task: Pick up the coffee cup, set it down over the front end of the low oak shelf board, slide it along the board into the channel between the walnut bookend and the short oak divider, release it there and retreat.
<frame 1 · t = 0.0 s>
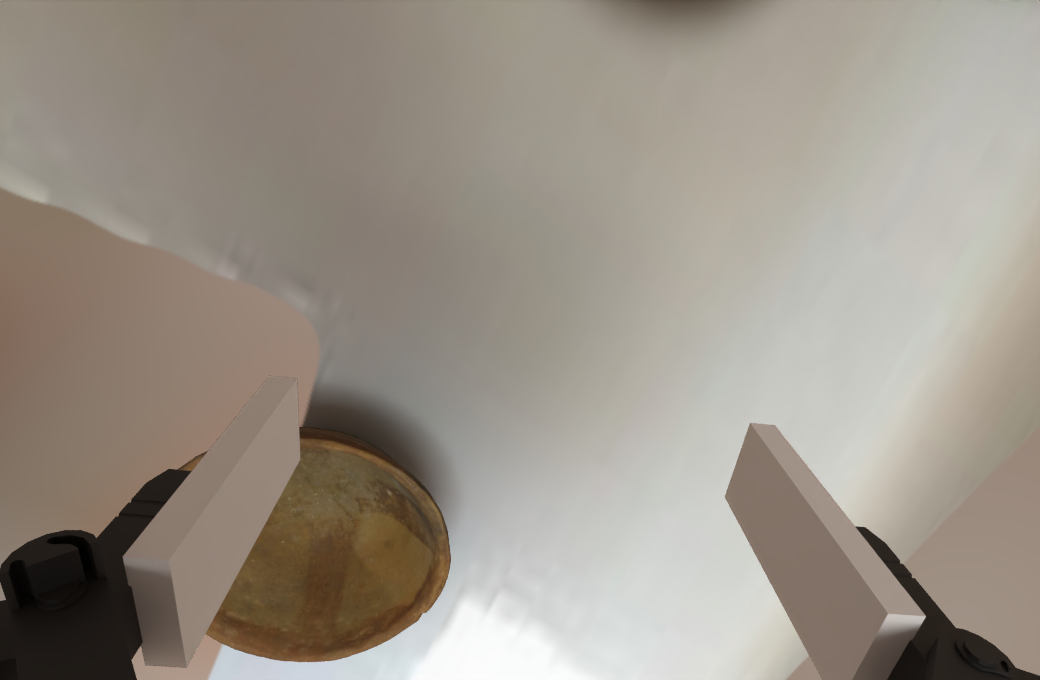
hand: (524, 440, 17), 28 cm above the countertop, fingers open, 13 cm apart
bowl: (332, 476, 51), on the countertop
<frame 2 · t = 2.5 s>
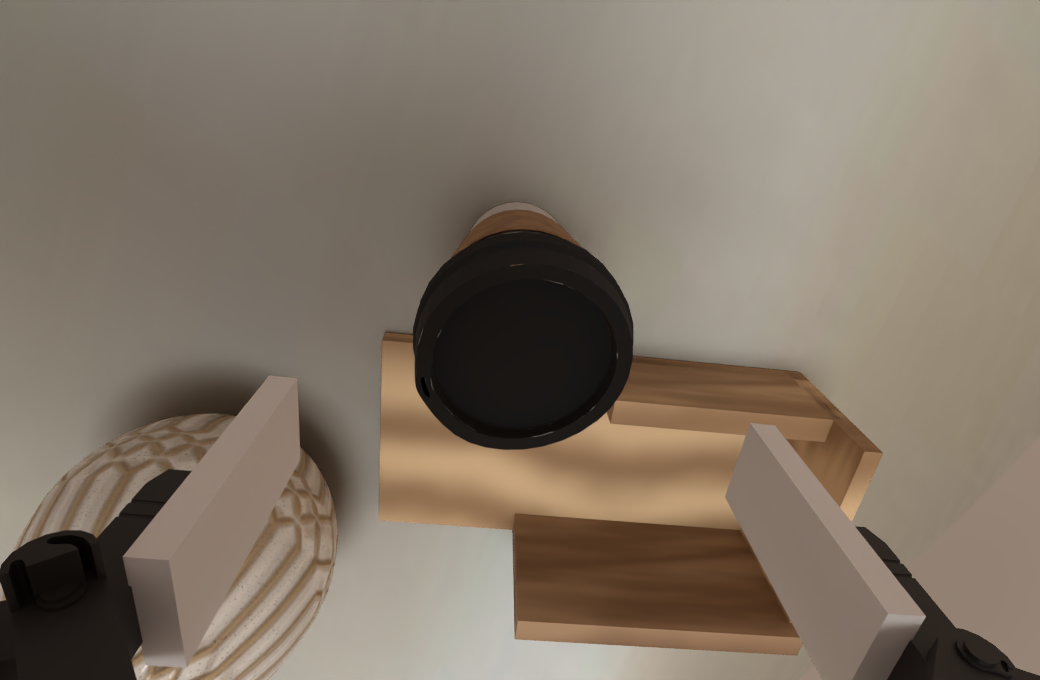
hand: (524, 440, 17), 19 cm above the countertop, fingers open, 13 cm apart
coffee cup: (516, 251, 34), on the countertop
vase: (246, 473, 40), on the countertop
shelf: (581, 443, 39), on the countertop
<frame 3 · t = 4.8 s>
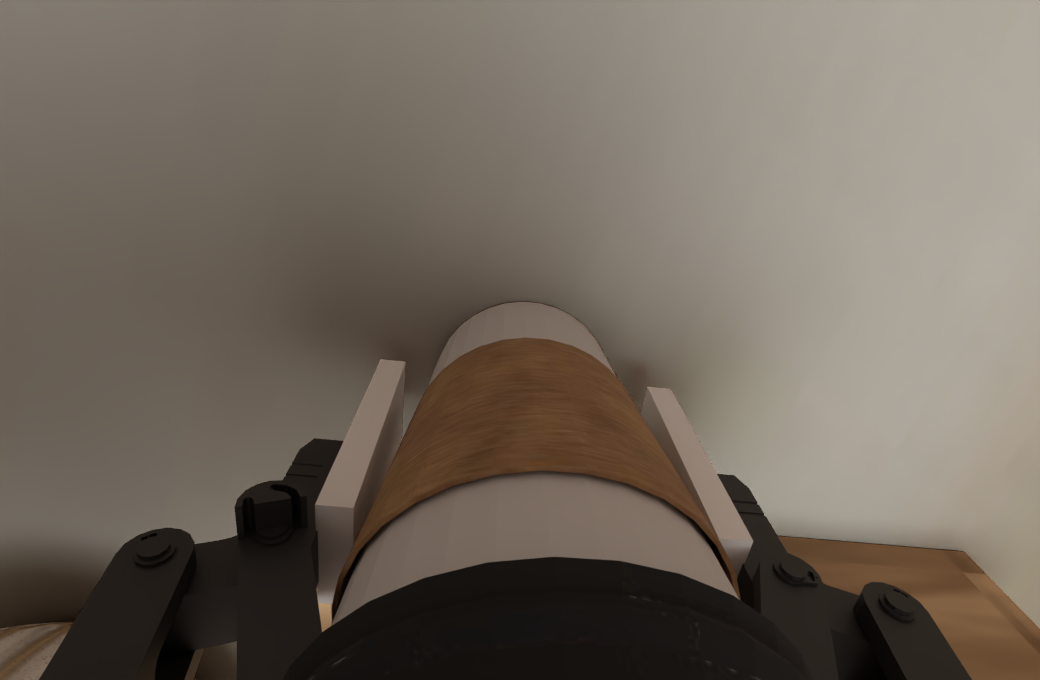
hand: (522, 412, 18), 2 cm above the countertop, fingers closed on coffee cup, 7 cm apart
coffee cup: (521, 376, 20), on the countertop, touching gripper
shelf: (616, 645, 26), on the countertop
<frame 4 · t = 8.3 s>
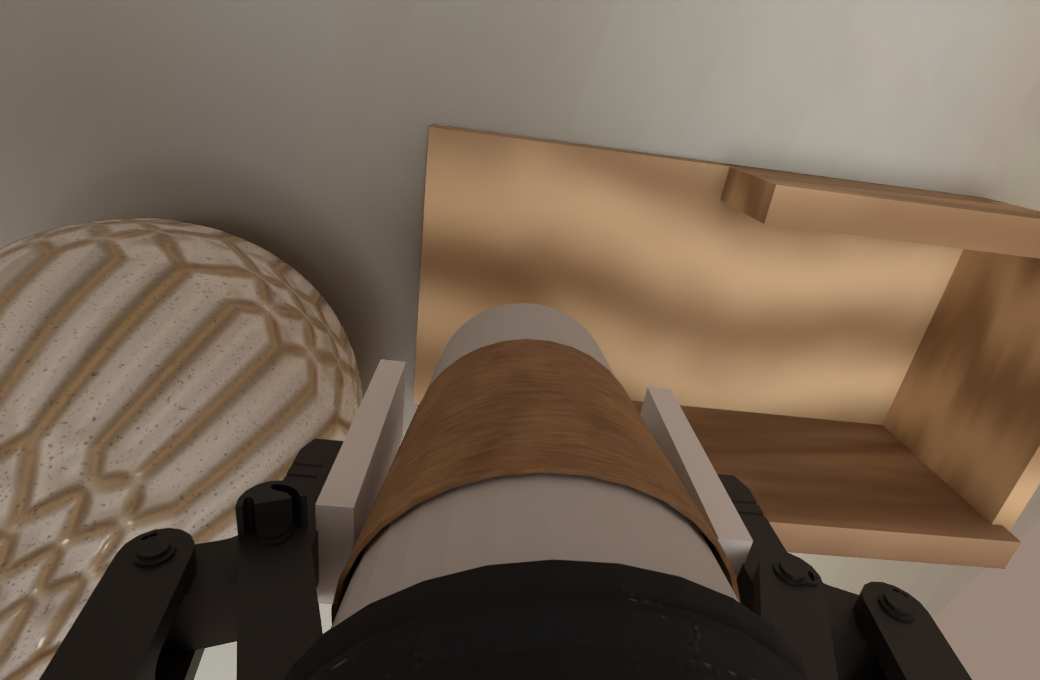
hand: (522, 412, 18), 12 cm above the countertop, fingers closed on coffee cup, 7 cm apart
coffee cup: (521, 377, 20), point 10 cm above the countertop, touching gripper
vase: (237, 340, 30), on the countertop
shelf: (683, 301, 30), on the countertop
when the fingers open (5 cm above the countertop, at t = 11.9 s): coffee cup drops 1 cm, resting on shelf.
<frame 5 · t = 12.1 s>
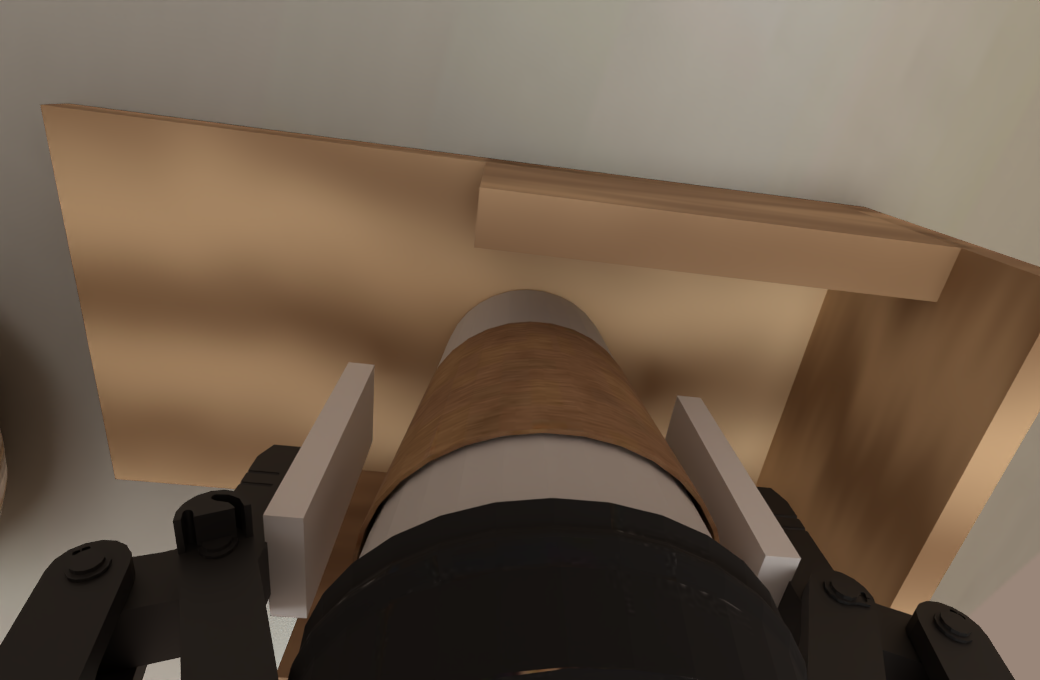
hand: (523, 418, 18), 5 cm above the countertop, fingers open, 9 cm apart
coffee cup: (525, 361, 21), point 1 cm above the countertop, touching shelf
shelf: (468, 344, 22), on the countertop
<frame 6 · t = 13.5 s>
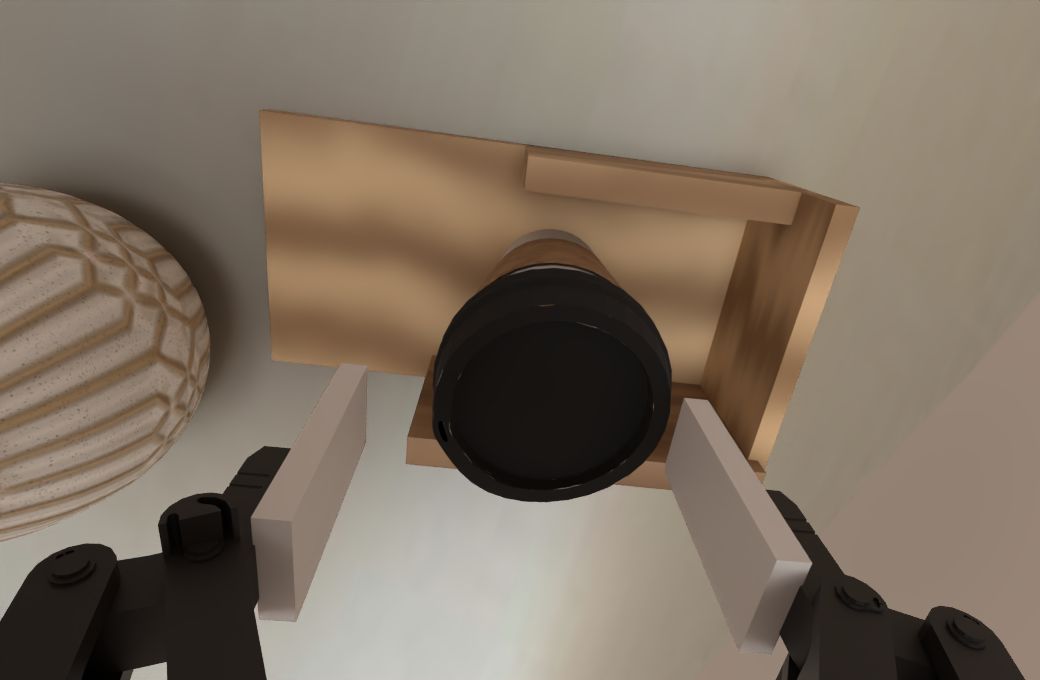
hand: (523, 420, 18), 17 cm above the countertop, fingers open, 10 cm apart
coffee cup: (549, 279, 32), point 1 cm above the countertop, touching shelf
vase: (117, 302, 34), on the countertop
shelf: (509, 269, 33), on the countertop
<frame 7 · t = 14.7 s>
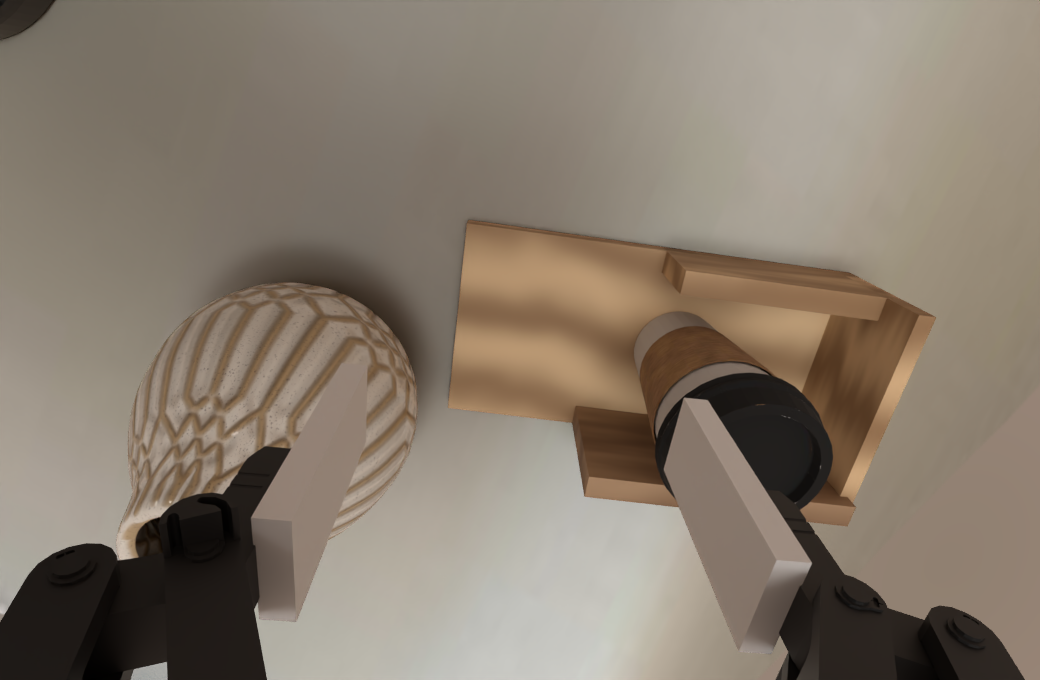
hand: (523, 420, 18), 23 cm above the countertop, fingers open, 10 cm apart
coffee cup: (673, 348, 41), point 1 cm above the countertop, touching shelf
vase: (326, 360, 43), on the countertop
shelf: (640, 339, 42), on the countertop
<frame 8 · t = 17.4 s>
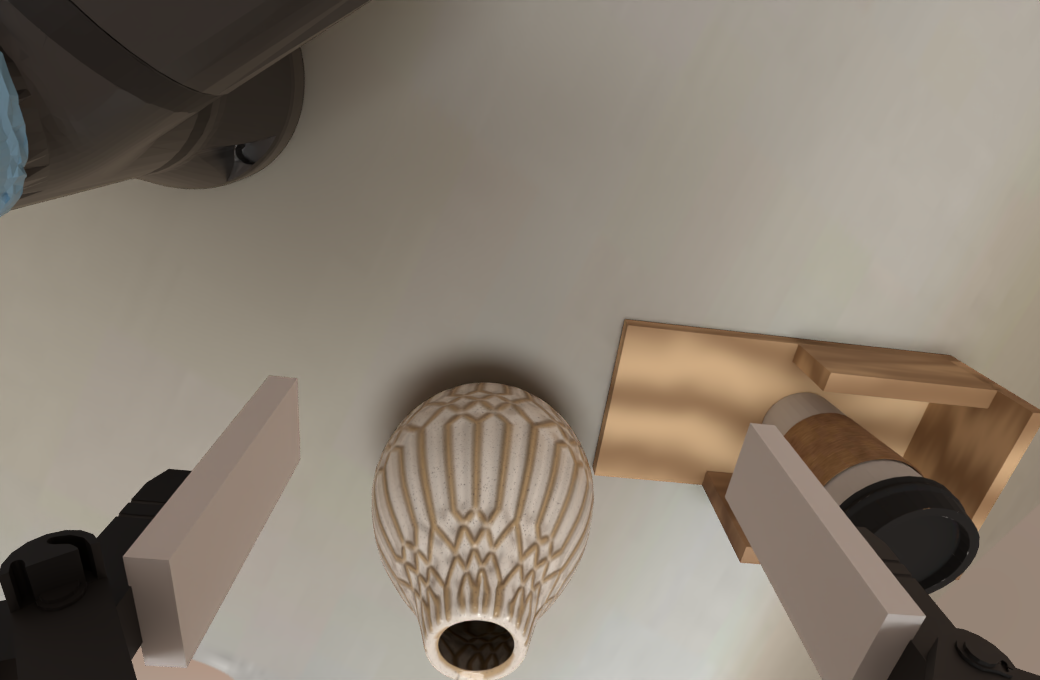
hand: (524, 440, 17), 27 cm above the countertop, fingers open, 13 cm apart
coffee cup: (795, 421, 47), point 1 cm above the countertop, touching shelf
vase: (486, 435, 48), on the countertop
shelf: (764, 413, 48), on the countertop
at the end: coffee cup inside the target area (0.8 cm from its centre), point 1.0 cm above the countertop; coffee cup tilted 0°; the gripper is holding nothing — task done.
